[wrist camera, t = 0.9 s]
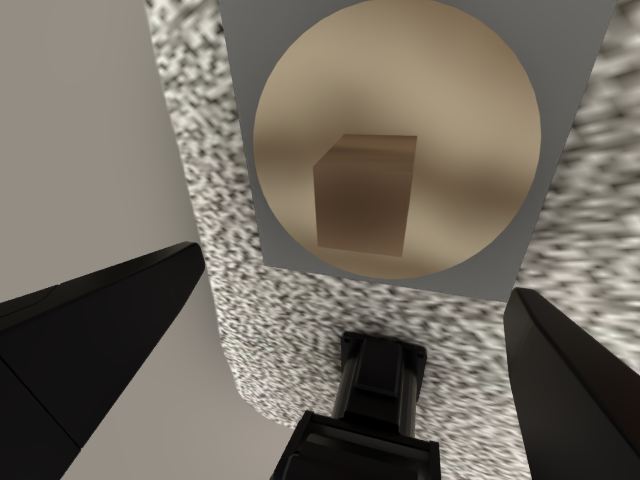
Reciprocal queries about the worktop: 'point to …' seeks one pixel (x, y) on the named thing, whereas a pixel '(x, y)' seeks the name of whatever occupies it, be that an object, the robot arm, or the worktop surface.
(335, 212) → the lid
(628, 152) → the worktop surface
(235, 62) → the mat
